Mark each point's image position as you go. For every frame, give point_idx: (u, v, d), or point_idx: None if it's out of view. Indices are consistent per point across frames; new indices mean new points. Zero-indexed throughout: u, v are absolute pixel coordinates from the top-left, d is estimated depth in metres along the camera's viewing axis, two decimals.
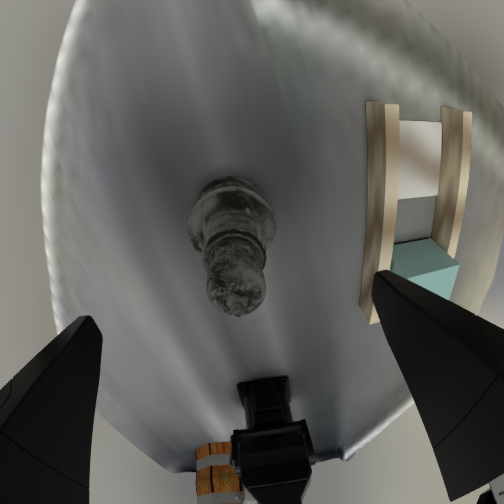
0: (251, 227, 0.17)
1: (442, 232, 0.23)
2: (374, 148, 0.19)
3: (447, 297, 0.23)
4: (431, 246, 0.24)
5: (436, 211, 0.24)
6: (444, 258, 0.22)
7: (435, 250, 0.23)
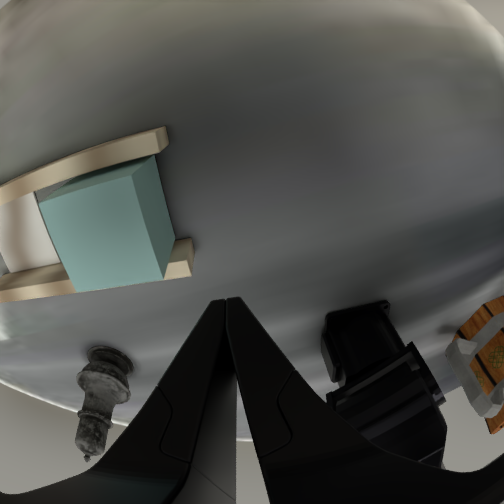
0: (86, 396, 0.21)
1: None
2: None
3: (92, 192, 0.13)
4: None
5: None
6: None
7: None
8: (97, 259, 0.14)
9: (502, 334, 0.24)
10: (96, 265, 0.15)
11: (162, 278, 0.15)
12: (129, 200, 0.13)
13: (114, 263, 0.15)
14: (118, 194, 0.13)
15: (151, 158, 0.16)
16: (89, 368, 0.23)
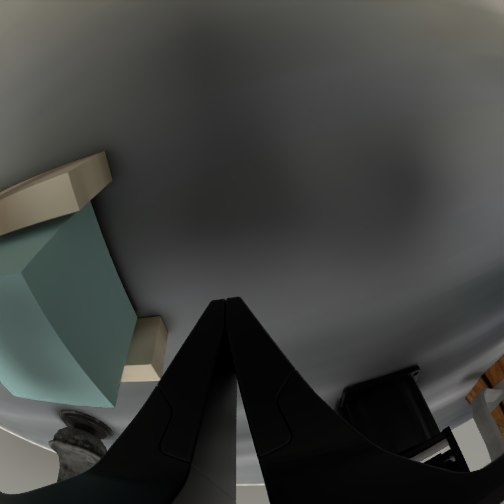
0: (60, 467, 0.14)
1: None
2: None
3: None
4: None
5: None
6: None
7: None
8: (22, 372, 0.07)
9: None
10: (22, 377, 0.08)
11: (113, 405, 0.08)
12: (31, 310, 0.06)
13: (43, 381, 0.08)
14: (13, 299, 0.06)
15: (82, 209, 0.09)
16: (60, 437, 0.16)
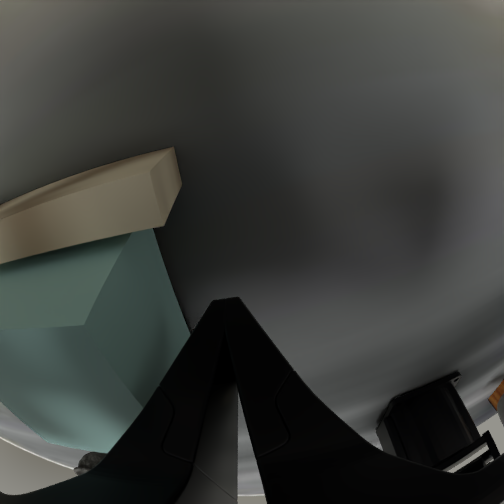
0: None
1: None
2: None
3: (11, 341, 0.04)
4: None
5: None
6: None
7: None
8: (65, 426, 0.06)
9: None
10: (65, 430, 0.06)
11: None
12: (96, 370, 0.05)
13: (96, 436, 0.06)
14: (66, 356, 0.04)
15: None
16: (88, 464, 0.14)
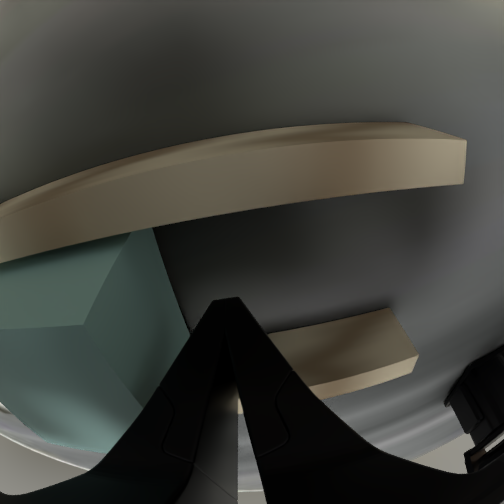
0: None
1: None
2: None
3: (10, 341, 0.04)
4: None
5: None
6: None
7: None
8: (64, 426, 0.06)
9: None
10: (64, 430, 0.06)
11: None
12: (95, 370, 0.05)
13: (95, 436, 0.06)
14: (65, 356, 0.04)
15: None
16: None
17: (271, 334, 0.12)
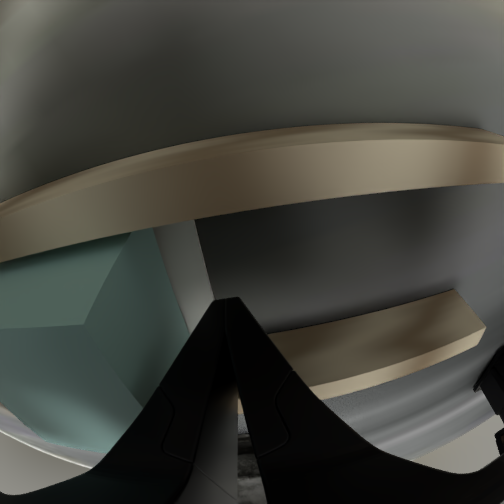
0: None
1: None
2: None
3: (10, 340, 0.04)
4: None
5: None
6: None
7: None
8: (64, 426, 0.06)
9: None
10: (64, 430, 0.06)
11: None
12: (95, 370, 0.05)
13: (95, 435, 0.06)
14: (65, 356, 0.04)
15: None
16: (238, 472, 0.14)
17: (363, 315, 0.12)
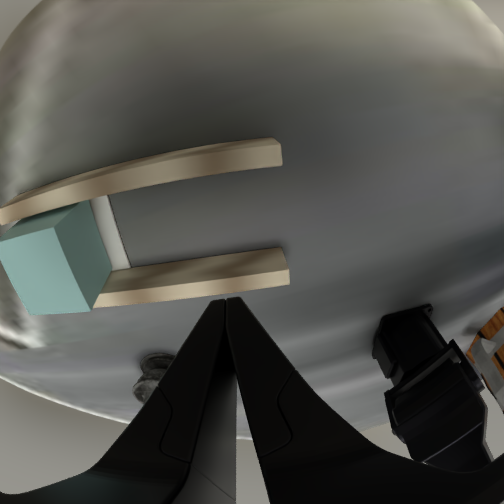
0: None
1: None
2: None
3: (28, 239, 0.13)
4: None
5: None
6: None
7: None
8: (40, 291, 0.15)
9: None
10: (40, 295, 0.15)
11: (90, 310, 0.16)
12: (55, 247, 0.14)
13: (52, 295, 0.15)
14: (47, 242, 0.14)
15: (83, 201, 0.17)
16: (150, 377, 0.24)
17: (206, 257, 0.21)
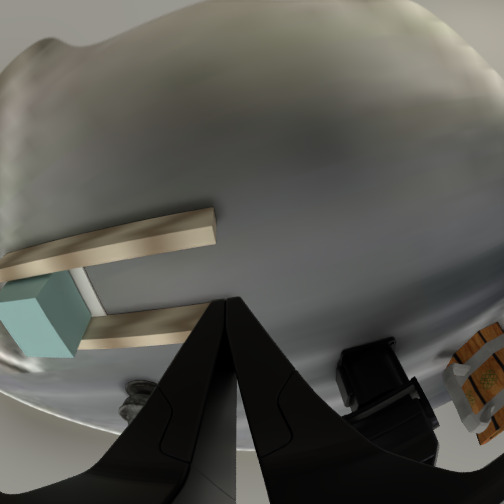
0: None
1: None
2: None
3: (17, 304, 0.16)
4: None
5: None
6: None
7: None
8: (33, 340, 0.17)
9: (493, 359, 0.27)
10: (33, 343, 0.18)
11: (73, 356, 0.18)
12: (39, 311, 0.16)
13: (43, 344, 0.18)
14: (32, 307, 0.16)
15: None
16: (132, 401, 0.26)
17: (168, 308, 0.23)
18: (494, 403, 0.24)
